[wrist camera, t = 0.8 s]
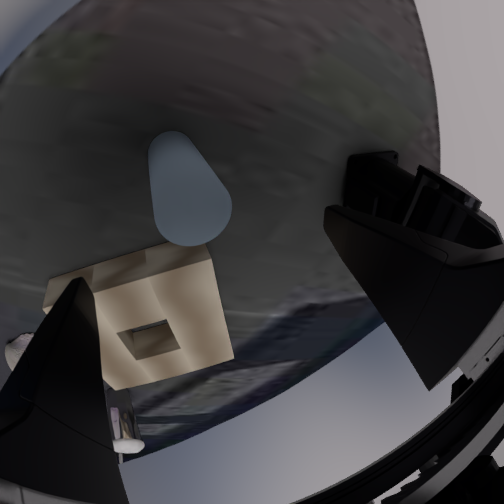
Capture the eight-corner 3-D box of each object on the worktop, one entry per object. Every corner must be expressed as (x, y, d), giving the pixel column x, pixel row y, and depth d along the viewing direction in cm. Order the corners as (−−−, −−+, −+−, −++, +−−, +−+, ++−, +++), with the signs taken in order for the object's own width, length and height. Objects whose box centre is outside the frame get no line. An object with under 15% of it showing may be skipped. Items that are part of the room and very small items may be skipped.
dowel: (190, 126, 17) (227, 167, 10) (196, 168, 19) (235, 234, 12) (143, 137, 16) (145, 187, 10) (153, 180, 18) (165, 254, 12)
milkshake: (96, 397, 31) (104, 462, 23) (109, 381, 30) (119, 453, 22) (123, 403, 34) (135, 464, 26) (139, 388, 32) (153, 455, 25)
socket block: (200, 232, 22) (211, 258, 20) (224, 333, 31) (234, 358, 29) (49, 279, 19) (42, 308, 16) (113, 364, 28) (115, 390, 25)
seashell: (8, 337, 17) (91, 392, 22) (27, 304, 22) (98, 354, 27) (-8, 378, 18) (59, 420, 23) (6, 348, 23) (66, 388, 28)
